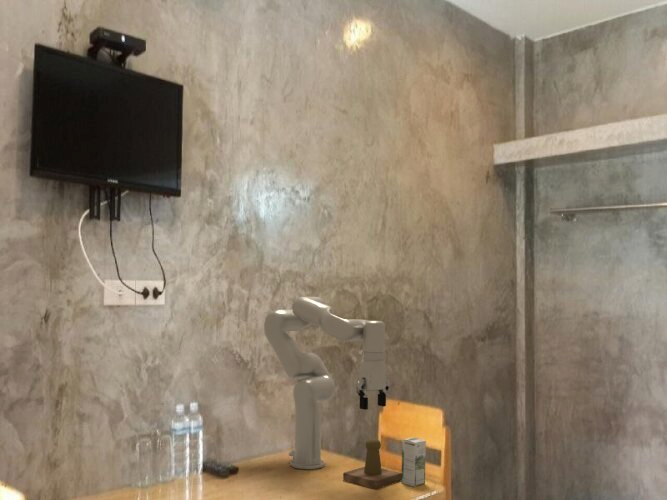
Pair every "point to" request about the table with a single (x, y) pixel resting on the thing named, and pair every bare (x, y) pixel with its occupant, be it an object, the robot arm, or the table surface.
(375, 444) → the cork
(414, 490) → the table surface
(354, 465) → the table surface
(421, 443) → the syrup box
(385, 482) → the walnut base
